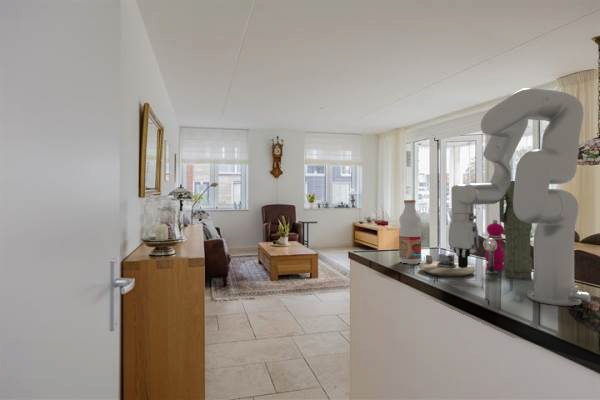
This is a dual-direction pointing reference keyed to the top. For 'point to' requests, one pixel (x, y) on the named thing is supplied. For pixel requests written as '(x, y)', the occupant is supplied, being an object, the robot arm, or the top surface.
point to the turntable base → (446, 275)
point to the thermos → (515, 240)
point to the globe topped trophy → (490, 253)
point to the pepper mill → (495, 233)
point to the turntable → (433, 268)
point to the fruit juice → (410, 234)
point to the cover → (446, 261)
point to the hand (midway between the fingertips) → (463, 267)
